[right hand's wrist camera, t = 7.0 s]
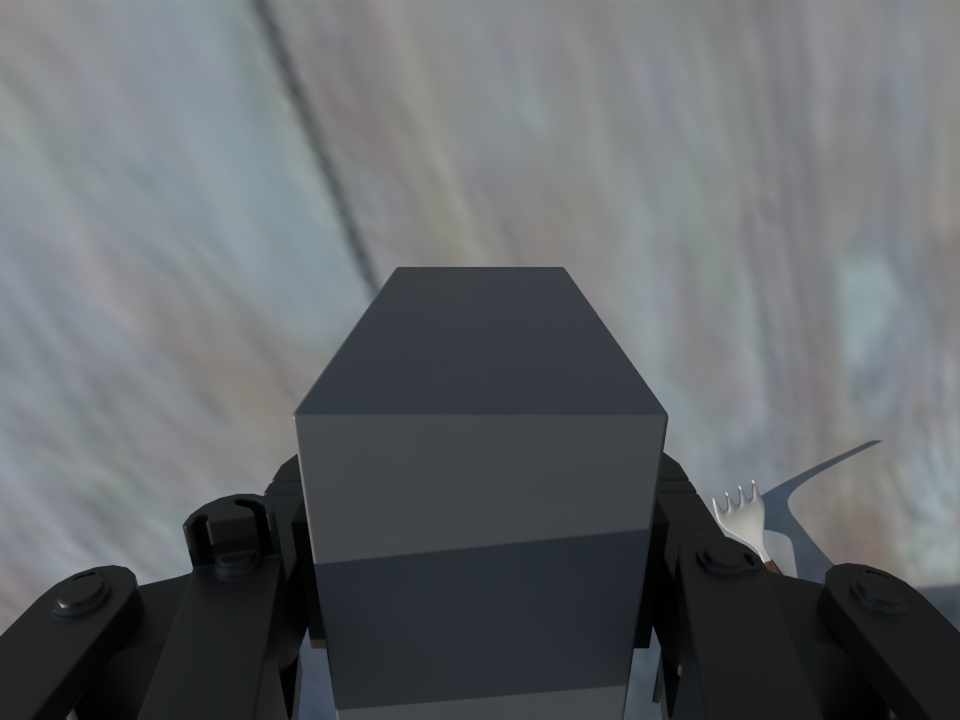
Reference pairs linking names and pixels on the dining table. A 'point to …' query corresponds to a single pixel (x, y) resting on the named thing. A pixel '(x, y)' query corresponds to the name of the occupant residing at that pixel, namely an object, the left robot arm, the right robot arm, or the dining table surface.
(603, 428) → the bar
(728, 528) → the fork
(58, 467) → the dining table surface
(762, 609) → the right robot arm
